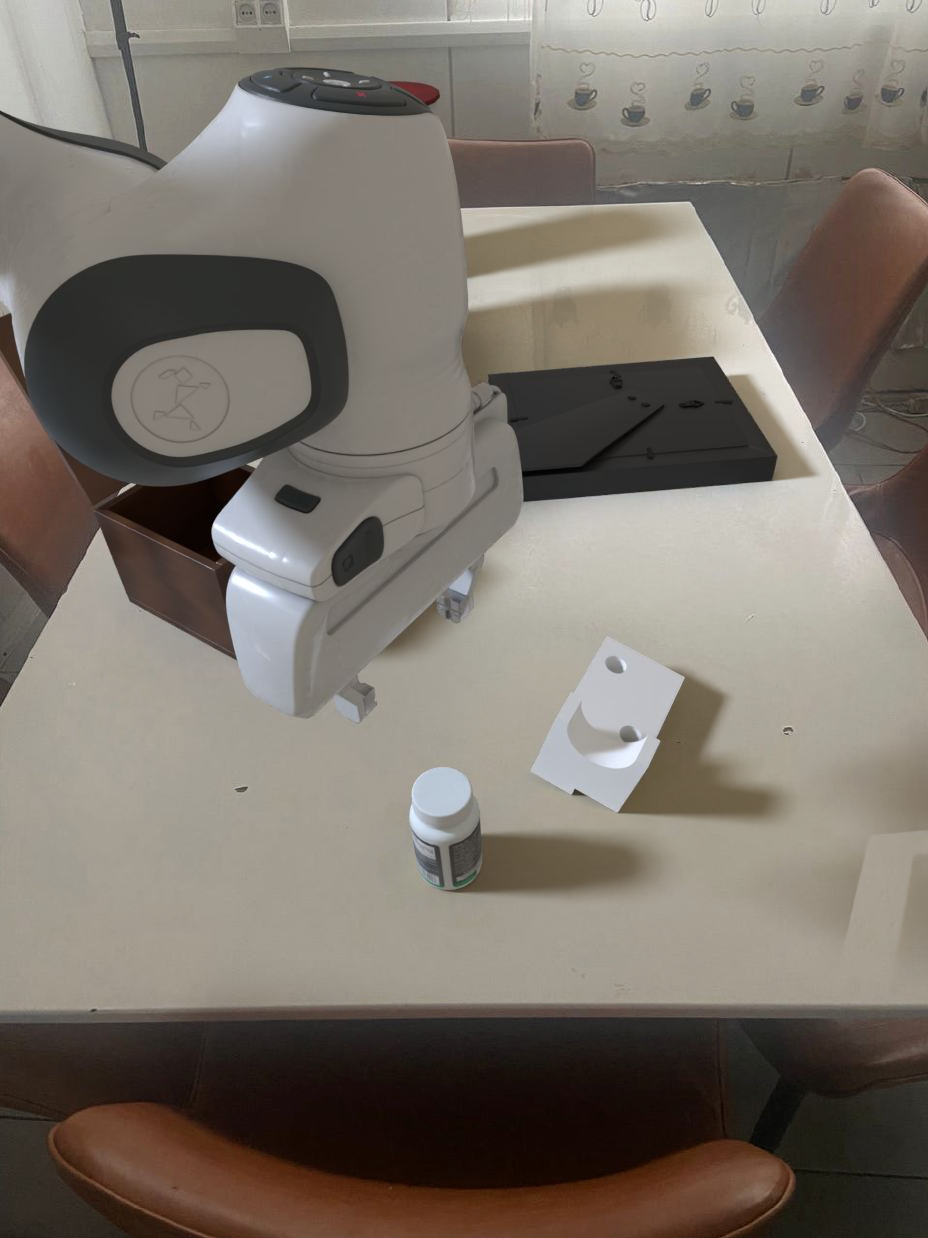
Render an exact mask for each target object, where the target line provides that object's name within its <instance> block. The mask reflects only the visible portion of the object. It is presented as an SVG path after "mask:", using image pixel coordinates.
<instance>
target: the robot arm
mask: <svg viewBox="0 0 928 1238" xmlns="http://www.w3.org/2000/svg"><path fill="white" fill-rule="evenodd" d="M466 258H467V257H466V245H465V235H464V225H463V217H462V208H461V200H460V194H459V188H458V181H457V175H456V171H455V166H454V161H453V156H452V152H451V148H450V144H449V140H448V137H447V134H446V131H445V129H444V126H443V124H442V122H441V120H440V118H439V116H438V117H437V116H436V115H435V114H434V113H433V112H432V111H431V110H430V107H428V106H427V105H426V104H425V103H424V102H422V101H421V100H420V99H418V98H417V97H415V96H414V95H412V94H411V93H409V92H407V91H406V90H404V89H402V88H400V87H398V86H396V85H394V84H391V83H389V82H387V80H385V79H382V78H379V77H377V76H374V75H371V76H367V75H364V74H358V73H355V72H353V71H348V70H341V69H332V68H325V67H310V66H309V67H308V66H307V67H306V66H305V67H304V66H285V67H276V68H273V69H266V70H260V71H255V72H254V73H253V74H251V75H248V76H245V77H242V78H241V79H240V80H239V81H238V82H237V83H236V84H235V86H234V88H233V90H232V92H231V95H230V96H229V98H228V100H227V101H226V103H225V104H224V106H223V108H222V109H221V110H220V111H219V112H218V114H217V115H216V116H215V117H214V118H213V119H212V121H211V122H209V124H208V125H207V126H206V127H205V128H204V129H203V130H202V131H201V132H200V133H199V134H198V135H197V137H195V138H194V139H193V140H192V142H190V143H189V145H187V146H186V147H185V148H184V149H183V150H181V151H180V152H179V153H178V154H177V155H176V156H175V157H174V158H172V159H171V160H170V161H166V160H164V159H162V158H161V157H160V156H157V155H155V154H154V153H151V152H150V151H148V150H145V149H144V148H141V147H139V146H135V145H133V144H131V143H127V142H124V141H119V140H116V139H111V138H108V137H102V136H97V135H92V134H86V133H79V132H74V131H67V130H63V129H62V130H61V129H57V128H52V127H48V126H44V125H40V124H37V123H33V122H30V121H27V120H24V119H22V118H19V117H16V116H14V115H11V114H9V113H7V112H4V111H3V110H0V302H1V303H2V304H3V306H5V307H6V309H7V310H8V311H9V313H11V314H12V324H13V330H14V336H15V341H16V346H17V350H18V354H19V358H20V362H21V366H22V369H23V373H24V376H25V382H26V386H27V391H28V394H29V397H30V400H31V403H32V406H33V408H34V410H35V412H36V414H37V416H38V418H39V419H40V421H41V423H42V424H43V426H44V427H45V429H46V430H47V431H48V433H49V434H50V435H51V437H52V438H53V439H54V440H55V441H56V442H57V443H58V444H59V445H60V446H61V447H62V448H63V449H64V450H65V451H66V452H68V453H69V454H70V455H71V456H73V457H74V458H75V459H77V460H78V461H79V462H81V463H82V464H84V465H86V466H87V467H89V468H91V469H93V470H95V471H97V472H99V473H101V474H103V475H106V476H108V477H111V478H114V479H117V480H120V481H124V482H127V483H130V484H133V485H136V484H138V485H145V486H178V485H185V484H190V483H195V482H199V481H202V480H206V479H209V478H211V477H214V476H217V475H220V474H223V473H225V472H228V471H230V470H233V469H236V468H238V467H241V466H244V465H246V464H247V465H249V464H251V463H253V462H256V461H259V460H260V461H259V463H258V465H257V466H256V467H255V468H256V469H255V470H254V472H253V473H252V474H251V476H250V477H249V478H248V479H247V481H246V482H245V483H244V485H243V486H242V487H241V488H240V489H239V491H238V492H237V493H236V494H235V496H234V497H233V498H232V499H231V500H230V501H229V503H228V504H227V505H226V506H225V507H224V508H223V510H222V511H221V512H220V513H219V515H218V516H217V518H216V519H215V521H214V523H213V526H212V539H213V542H214V545H215V548H216V550H217V552H218V553H219V554H220V555H221V556H222V557H224V558H225V559H227V560H228V561H230V562H231V563H233V564H234V565H236V566H235V568H234V569H233V571H232V573H231V576H230V578H229V582H228V586H227V592H226V609H227V616H228V622H229V627H230V633H231V637H232V642H233V646H234V650H235V654H236V658H237V660H236V662H237V664H238V668H239V671H240V674H241V677H242V680H243V682H244V684H245V687H246V688H247V690H248V691H249V692H250V693H251V694H252V695H253V696H254V697H255V698H257V699H258V700H260V701H261V702H262V703H264V704H266V705H267V706H269V707H270V708H272V709H274V710H276V711H278V712H280V713H282V714H285V715H287V716H290V717H293V718H297V719H305V720H307V719H311V718H313V717H315V716H316V715H317V714H318V713H319V712H320V711H321V710H322V709H323V708H324V707H325V706H326V705H328V703H329V702H330V701H332V699H333V700H334V705H335V709H336V710H337V712H338V713H339V714H340V715H341V716H342V717H344V718H346V719H348V720H349V721H351V722H353V723H355V724H361V723H362V722H363V720H365V718H366V717H367V716H368V715H369V714H370V713H371V712H372V711H373V710H374V709H375V708H376V707H377V705H378V702H377V700H376V690H375V687H374V686H372V685H370V684H368V683H366V682H360V679H359V674H360V673H361V672H362V671H363V670H364V669H365V668H366V667H367V666H368V665H369V664H370V663H371V662H372V661H373V660H374V659H375V658H376V657H377V656H379V654H380V653H382V652H383V651H384V650H385V649H386V648H387V647H388V646H389V645H390V644H391V643H392V642H393V641H394V640H396V639H397V638H398V637H399V635H401V634H402V632H404V631H405V630H406V629H407V628H408V627H409V626H410V625H411V624H412V623H413V622H414V621H415V620H417V618H418V617H419V616H420V615H422V613H423V612H425V611H426V610H427V609H428V608H429V607H430V606H431V605H432V604H433V603H434V602H436V603H437V605H436V612H437V614H438V615H439V616H440V617H442V618H443V619H445V620H451V622H452V623H455V624H459V623H461V622H462V621H463V620H464V619H465V618H466V617H467V616H468V615H469V614H470V613H471V612H472V611H473V610H474V607H475V604H474V603H475V601H474V600H475V599H474V590H475V588H476V586H477V582H478V581H479V580H478V579H479V577H480V574H481V571H482V569H483V565H484V562H485V553H486V552H488V551H489V549H491V548H492V547H493V546H494V545H495V544H496V543H497V542H498V541H499V540H500V539H501V538H502V537H504V536H505V534H507V533H508V532H509V531H510V530H511V529H512V528H513V527H514V526H515V525H516V523H517V522H518V520H519V517H520V515H521V511H522V508H523V504H524V502H523V482H522V470H521V461H520V454H519V447H518V442H517V438H516V434H515V432H514V430H513V428H512V427H511V426H510V425H509V424H507V399H506V395H505V394H504V393H502V391H501V390H500V389H499V388H498V387H497V386H494V385H489V384H488V382H480V383H478V384H476V385H474V386H473V387H472V384H471V380H470V376H469V374H468V372H467V368H466V366H465V362H464V359H463V350H462V342H463V341H462V340H463V334H464V330H465V326H466V323H467V318H468V312H469V290H468V270H467V259H466Z"/></svg>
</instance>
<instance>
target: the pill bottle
mask: <svg viewBox="0 0 928 1238" xmlns="http://www.w3.org/2000/svg"><path fill="white" fill-rule="evenodd" d="M408 820H409V825H410V830H411V836H412V837H411V838H412V842H413V849H414V856H415V860H416V866H417V869H418V873H419V875H420V877H421V878H422V879H423V880H424V881H425V882H426V883H427V884H428V885H429V886H431V887H433V888H436V889H439V890H444V891H455V890H458V889H461V888H464V887H466V886H468V885H469V884H471V883H473V881H474V880H475V879H476V878H477V877H478V875H479V873H480V871H481V868H482V866H483V857H484V856H483V840H482V828H481V826H482V825H481V810H480V806H479V803H478V800H477V798H476V796H475V795H474V792H473V785H472V782H471V781H470V779H469V777H468V776H467V775H466V774H465V773H464V772H462V771H461V770H459V769H456V768H453V767H448V766H438V767H434V768H433V767H432V768H430V769H428V770H426V771H424V772H423V773H421V774H420V775H419V776H418V777H417V778H416V779H415V780H414V783H413V785H412V788H411V805H410V808H409V819H408Z"/></svg>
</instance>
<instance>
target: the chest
mask: <svg viewBox="0 0 928 1238" xmlns="http://www.w3.org/2000/svg"><path fill="white" fill-rule="evenodd" d="M256 468H257V467H254V466H252V465H249V464H246V465H244V466H241V467H238V468H236V469H233V470H230V471H228V472H225V473H223V474H220V475H217V476H214V477H211V478H209V479H206V480H202V481H199V482H195V483H190V484H185V485H178V486H145V485H138V484H133V486H130V487H129V488H128V489H126V490H125V491H122V492H121V493H120V494H118V495H116V496H115V497H113V498H111V499H110V500H108V501H106V502H105V503H103V504H102V505H99V506H98V507H97V508H95V509H93V513H94V515H95V519H96V521H97V523H98V526H99V528H100V531H101V534H102V536H103V538H104V541H105V544H106V546H107V548H108V550H109V553H110V556H111V559H112V561H113V563H114V566H115V568H116V569H115V570H116V571H117V574H118V576H119V578H120V580H121V583H122V584H121V585H122V586H123V590H124V592H125V594H126V596H127V598H128V600H129V602H130V603H132V604H134V605H135V606H137V607H139V608H141V609H142V610H144V611H147V612H148V613H150V614H152V615H154V616H155V617H157V618H159V619H161V620H162V621H164V622H166V623H168V624H170V625H171V626H174V627H175V628H177V629H179V630H181V631H182V632H184V633H186V634H188V635H190V636H192V637H193V638H195V639H197V640H199V641H201V642H202V643H204V644H206V645H208V646H210V647H211V648H213V649H215V650H217V651H219V652H221V653H222V654H223V655H226V656H228V657H229V658H231V659H232V660H235V661H237V658H236V654H235V650H234V646H233V642H232V637H231V633H230V627H229V622H228V616H227V609H226V592H227V586H228V582H229V578H230V576H231V573H232V571H233V569H234V568H235V566H236V565H234V564H233V563H231V562H230V561H228V560H227V559H225V558H224V557H222V556H221V555H220V554H219V553H218V552H217V550H216V548H215V545H214V542H213V539H212V526H213V523H214V521H215V519H216V518H217V516H218V515H219V513H220V512H221V511H222V510H223V508H224V507H225V506H226V505H227V504H228V503H229V501H230V500H231V499H232V498H233V497H234V496H235V494H236V493H237V492H238V491H239V489H240V488H241V487H242V486H243V485H244V483H245V482H246V481H247V479H248V478H249V477H250V476H251V474H252V473H253V472H254V470H255V469H256Z"/></svg>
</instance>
